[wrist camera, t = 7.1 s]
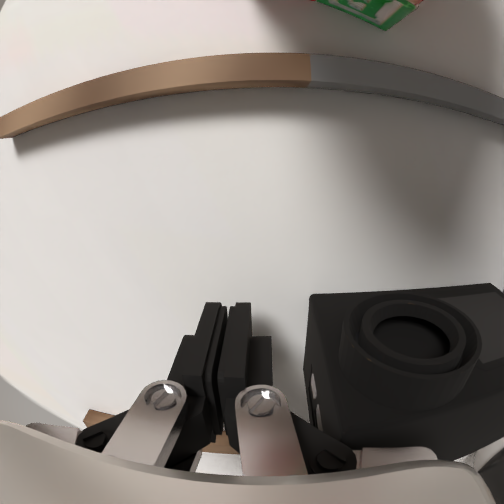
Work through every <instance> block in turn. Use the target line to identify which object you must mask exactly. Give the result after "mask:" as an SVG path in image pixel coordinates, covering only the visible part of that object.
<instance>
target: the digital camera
mask: <svg viewBox="0 0 504 504" xmlns="http://www.w3.org/2000/svg"><path fill="white" fill-rule="evenodd" d="M303 371H304V379H305V386H306V394H307V402H308V410H309V418H310V424H311V425H313V426H314V427H316V428H317V429H319V430H321V431H322V432H324V433H326V434H327V435H329V436H331V437H333V438H334V439H336V440H338V441H340V442H341V443H343V444H345V445H347V446H348V447H349V448H350V449H352V450H362V448H400V447H426V448H428V449H430V450H432V451H433V452H434V453H435V454H436V456H437V459H438V460H448V461H454V460H456V459H459V458H461V457H464V456H466V455H468V454H471V453H473V452H475V451H477V450H480V449H482V448H484V447H486V446H488V445H490V444H492V443H494V442H496V441H497V440H499V439H501V438H503V437H504V293H502V292H501V291H500V290H499V289H497V288H496V287H495V286H494V285H492V284H491V283H484V284H474V285H463V286H451V287H439V288H426V289H411V290H395V291H377V292H356V293H331V294H312V295H311V296H310V298H309V313H308V325H307V336H306V346H305V356H304V366H303Z"/></svg>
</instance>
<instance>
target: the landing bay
mask: <svg viewBox="0 0 504 504" xmlns="http://www.w3.org/2000/svg"><path fill="white" fill-rule="evenodd" d="M310 63H311V82H310V83H309V85H308V86H307V88H321V89H335V90H347V91H356V92H365V93H373V94H380V95H387V96H393V97H399V98H404V99H410V100H415V101H420V102H424V103H429V104H433V105H438V106H442V107H446V108H450V109H453V110H457V111H461V112H464V113H468V114H471V115H474V116H478V117H481V118H484V119H487V120H490V121H493V122H496V123H499V124H501V125H504V99H503V98H501V97H499V96H496V95H494V94H491V93H489V92H486V91H484V90H481V89H479V88H476V87H473V86H471V85H468V84H465V83H462V82H459V81H456V80H453V79H449V78H446V77H443V76H439V75H436V74H432V73H429V72H425V71H421V70H417V69H413V68H408V67H404V66H399V65H394V64H389V63H384V62H378V61H372V60H366V59H359V58H351V57H343V56H333V55H321V54H310ZM503 293H504V291H503Z"/></svg>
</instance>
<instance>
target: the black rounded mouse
mask: <svg viewBox="0 0 504 504" xmlns="http://www.w3.org/2000/svg"><path fill="white" fill-rule="evenodd" d="M474 469H475V470H476V471H477V472H478V473H479V474H480V476H481V477H482V478H483V480H484V482H485V483H486V485H487V487H488V488H489V490H490V492H491V494H492V496H493V498H494V500H495V502H496V504H504V437H503V438H501V439H499V440H497V441H496V442H494V443H492V444H490V445H488V446H486V447H484V448H482V449H480V450H477V452H476V455H475V458H474Z"/></svg>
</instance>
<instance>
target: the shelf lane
mask: <svg viewBox="0 0 504 504" xmlns="http://www.w3.org/2000/svg"><path fill="white" fill-rule="evenodd" d="M310 82H311V63H310V54H305V53H243V54H227V55H215V56H205V57H197V58H189V59H182V60H175V61H169V62H163V63H158V64H153V65H148V66H143V67H138V68H134V69H130V70H126V71H122V72H118V73H114V74H110V75H107V76H103V77H100V78H96V79H93V80H90V81H86V82H83V83H80V84H77V85H74V86H72V87H69V88H66V89H63V90H60V91H58V92H55V93H53V94H50V95H48V96H45V97H43V98H40V99H38V100H36V101H33V102H31V103H29V104H27V105H24V106H22V107H20V108H18V109H16V110H14V111H12V112H10V113H8V114H6V115H4V116H2V117H0V139H3V138H12V137H14V136H17V135H19V134H22V133H24V132H27V131H30V130H32V129H35V128H38V127H40V126H43V125H46V124H49V123H52V122H55V121H58V120H61V119H64V118H68V117H71V116H74V115H78V114H81V113H85V112H89V111H92V110H96V109H100V108H104V107H108V106H113V105H117V104H122V103H126V102H131V101H136V100H141V99H147V98H153V97H159V96H165V95H172V94H179V93H187V92H196V91H206V90H217V89H231V88H253V87H300V88H307V86H308V85H309V83H310ZM113 416H114V415H110V414H106V413H102V412H98V411H94V410H90V409H89V411H88V413H87V414H86V416H85V418H84V420H83V422H84V423H85V425H86V426H87V428H88V427H90V426H92V425H94V424H97V423H99V422H102V421H104V420H106V419H109V418H111V417H113ZM202 452H211V453H224V454H239V453H238V452H237V451H236V450H234V449H233V448H232V447H231V446H230V445H229V439H228V435H226V432H225V431H223V432H222V435H217V436H216V442H215V443H210V444H209V445H207V446H206V447H204V448H202Z"/></svg>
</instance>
